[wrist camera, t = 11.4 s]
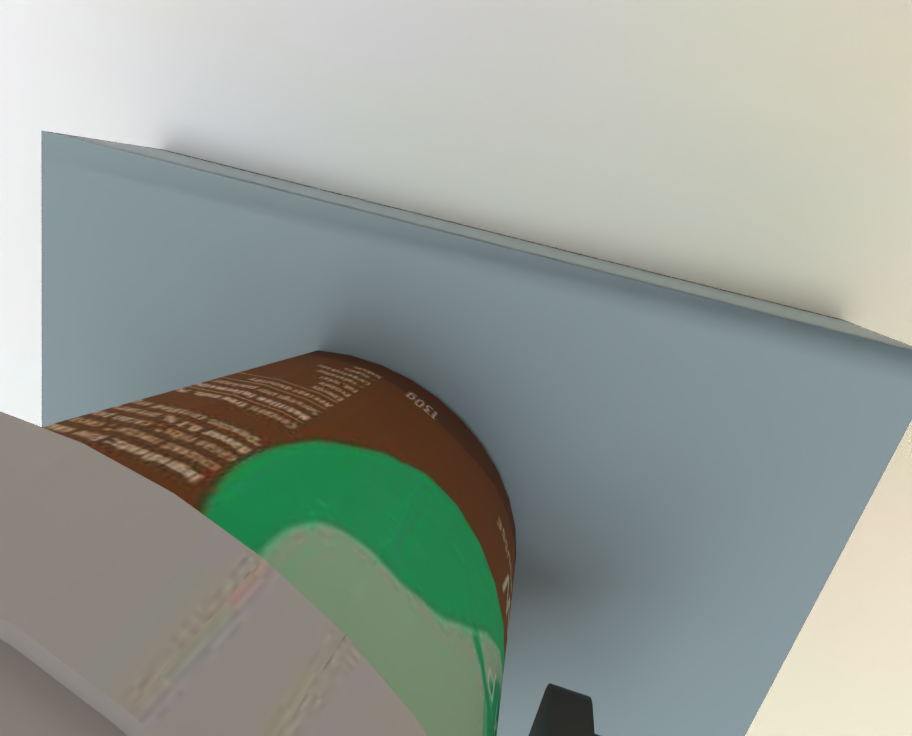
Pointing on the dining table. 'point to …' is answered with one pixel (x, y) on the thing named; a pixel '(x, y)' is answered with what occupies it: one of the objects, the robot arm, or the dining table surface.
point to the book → (511, 407)
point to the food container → (255, 562)
